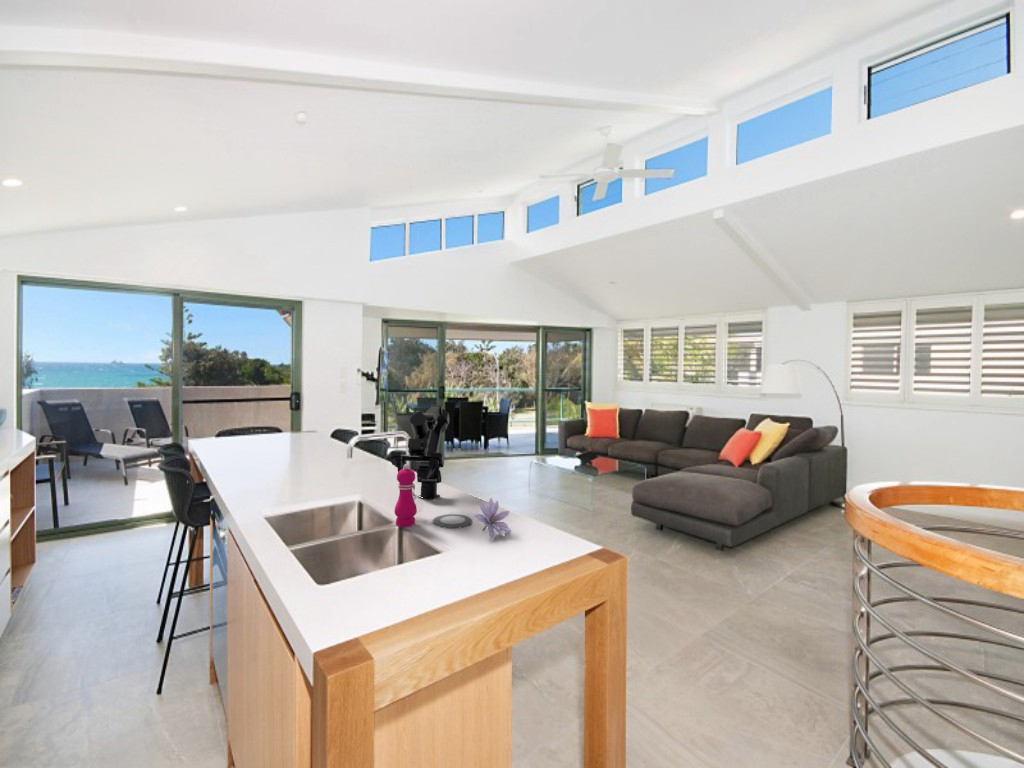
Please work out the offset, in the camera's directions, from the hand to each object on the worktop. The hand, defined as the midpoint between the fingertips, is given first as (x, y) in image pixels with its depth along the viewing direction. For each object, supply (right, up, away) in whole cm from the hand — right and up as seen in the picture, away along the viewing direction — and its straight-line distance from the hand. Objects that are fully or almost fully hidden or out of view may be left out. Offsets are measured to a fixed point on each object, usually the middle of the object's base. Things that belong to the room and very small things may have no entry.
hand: (412, 479), depth 172 cm
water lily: (+29, -15, -15) cm, 35 cm away
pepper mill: (-1, -14, -7) cm, 15 cm away
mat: (+14, -14, -3) cm, 20 cm away
